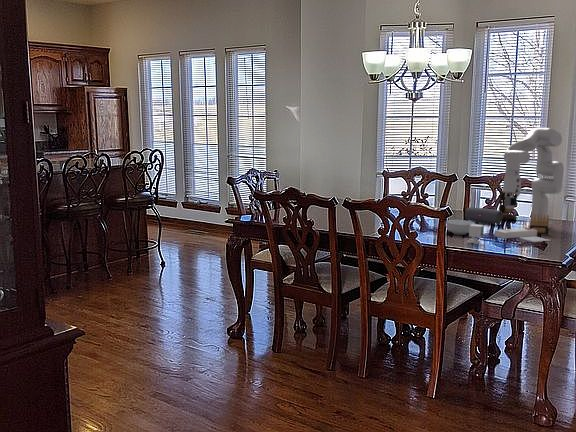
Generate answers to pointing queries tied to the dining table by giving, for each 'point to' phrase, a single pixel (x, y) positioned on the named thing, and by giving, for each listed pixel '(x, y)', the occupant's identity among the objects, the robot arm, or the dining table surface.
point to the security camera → (475, 233)
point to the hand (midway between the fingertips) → (510, 204)
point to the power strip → (515, 233)
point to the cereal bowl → (459, 226)
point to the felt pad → (534, 239)
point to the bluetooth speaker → (484, 215)
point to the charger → (509, 202)
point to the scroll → (504, 209)
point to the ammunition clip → (540, 224)
